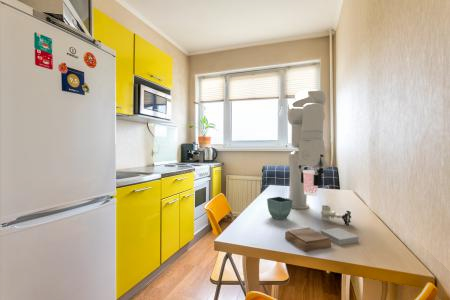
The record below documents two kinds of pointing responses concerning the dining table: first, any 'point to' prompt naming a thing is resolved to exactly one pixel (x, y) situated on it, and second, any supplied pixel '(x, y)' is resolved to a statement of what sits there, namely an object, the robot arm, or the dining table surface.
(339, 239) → the grey stand
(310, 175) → the beverage cup
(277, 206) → the flower pot
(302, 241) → the walnut stand
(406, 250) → the dining table surface
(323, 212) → the valve
